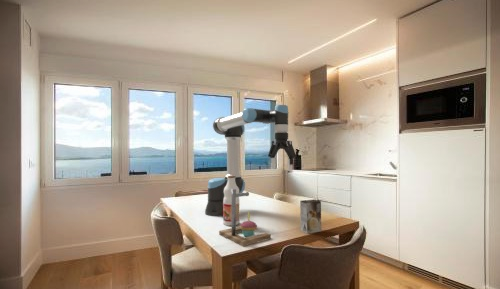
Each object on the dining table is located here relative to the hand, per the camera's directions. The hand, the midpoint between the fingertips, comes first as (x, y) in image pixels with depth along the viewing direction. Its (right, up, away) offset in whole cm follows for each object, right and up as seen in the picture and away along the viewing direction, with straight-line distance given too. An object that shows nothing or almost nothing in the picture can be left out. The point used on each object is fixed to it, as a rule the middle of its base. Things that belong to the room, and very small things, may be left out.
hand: (281, 169), depth 153 cm
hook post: (-23, -29, -20) cm, 42 cm away
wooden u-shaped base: (-21, -31, -19) cm, 42 cm away
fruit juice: (-29, -32, +4) cm, 43 cm away
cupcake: (-19, -32, -17) cm, 41 cm away
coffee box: (+14, -32, -9) cm, 36 cm away
